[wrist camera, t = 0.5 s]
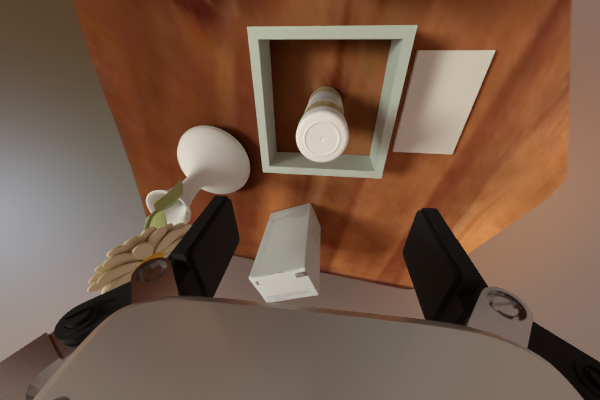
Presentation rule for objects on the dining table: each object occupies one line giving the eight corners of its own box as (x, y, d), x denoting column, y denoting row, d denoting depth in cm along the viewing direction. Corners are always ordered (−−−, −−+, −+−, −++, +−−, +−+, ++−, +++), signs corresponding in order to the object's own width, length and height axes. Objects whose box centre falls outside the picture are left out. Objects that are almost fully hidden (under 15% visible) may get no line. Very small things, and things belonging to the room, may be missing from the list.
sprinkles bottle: (335, 125, 31) (337, 170, 20) (304, 116, 31) (289, 156, 20) (347, 91, 29) (358, 121, 18) (313, 80, 28) (302, 103, 17)
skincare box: (283, 233, 44) (265, 305, 32) (269, 210, 41) (244, 280, 29) (323, 225, 42) (320, 299, 30) (312, 199, 39) (304, 270, 27)
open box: (260, 29, 26) (247, 26, 22) (403, 28, 24) (417, 25, 20) (270, 157, 35) (262, 172, 31) (375, 162, 34) (381, 178, 30)
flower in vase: (223, 198, 41) (118, 351, 21) (170, 151, 37) (-31, 286, 16) (275, 158, 35) (198, 316, 15) (219, 97, 31) (2, 202, 11)
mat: (416, 50, 25) (418, 50, 25) (492, 50, 25) (495, 50, 24) (392, 150, 32) (393, 151, 32) (450, 152, 32) (452, 154, 31)
